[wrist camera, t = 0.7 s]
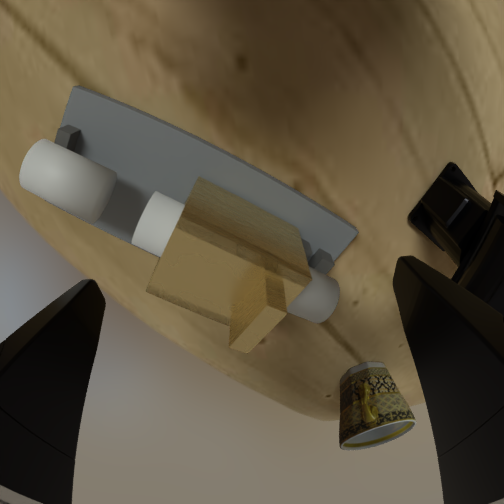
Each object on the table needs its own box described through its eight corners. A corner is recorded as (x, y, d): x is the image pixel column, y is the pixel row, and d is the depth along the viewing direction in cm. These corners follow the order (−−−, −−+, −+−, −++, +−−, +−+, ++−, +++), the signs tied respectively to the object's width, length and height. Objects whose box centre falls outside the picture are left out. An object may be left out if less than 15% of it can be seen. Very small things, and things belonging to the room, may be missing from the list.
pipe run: (355, 227, 22) (381, 272, 17) (286, 306, 27) (292, 356, 22) (78, 85, 15) (29, 96, 10) (49, 196, 20) (11, 231, 15)
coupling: (298, 228, 21) (320, 311, 14) (257, 281, 24) (259, 367, 17) (198, 176, 19) (168, 244, 12) (166, 240, 21) (134, 321, 15)
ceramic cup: (399, 374, 36) (417, 430, 28) (339, 397, 39) (349, 454, 31) (388, 331, 30) (414, 404, 22) (310, 362, 33) (322, 436, 24)
